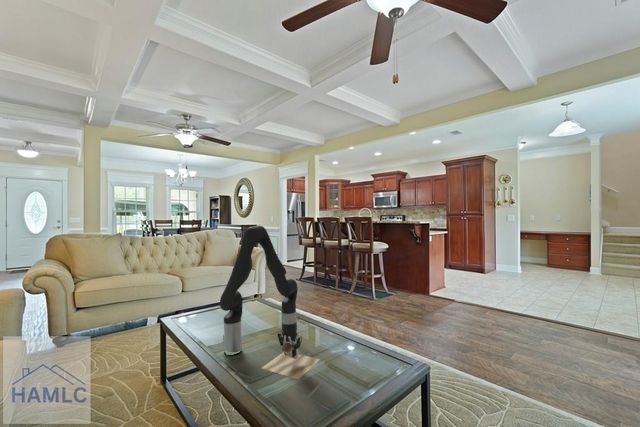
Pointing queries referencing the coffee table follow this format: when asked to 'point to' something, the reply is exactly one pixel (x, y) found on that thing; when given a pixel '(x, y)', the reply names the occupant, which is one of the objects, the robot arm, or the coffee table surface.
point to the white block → (289, 350)
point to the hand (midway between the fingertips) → (290, 355)
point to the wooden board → (291, 365)
